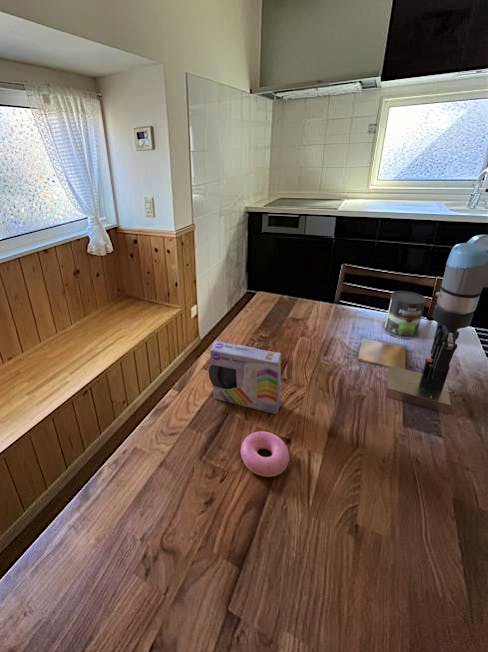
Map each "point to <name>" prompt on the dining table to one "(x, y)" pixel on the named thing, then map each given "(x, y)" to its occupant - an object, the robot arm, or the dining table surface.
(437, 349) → the robot arm
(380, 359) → the plate
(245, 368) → the cake pan box
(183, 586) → the dining table surface
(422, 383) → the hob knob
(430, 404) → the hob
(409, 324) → the coffee can
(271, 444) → the doughnut
